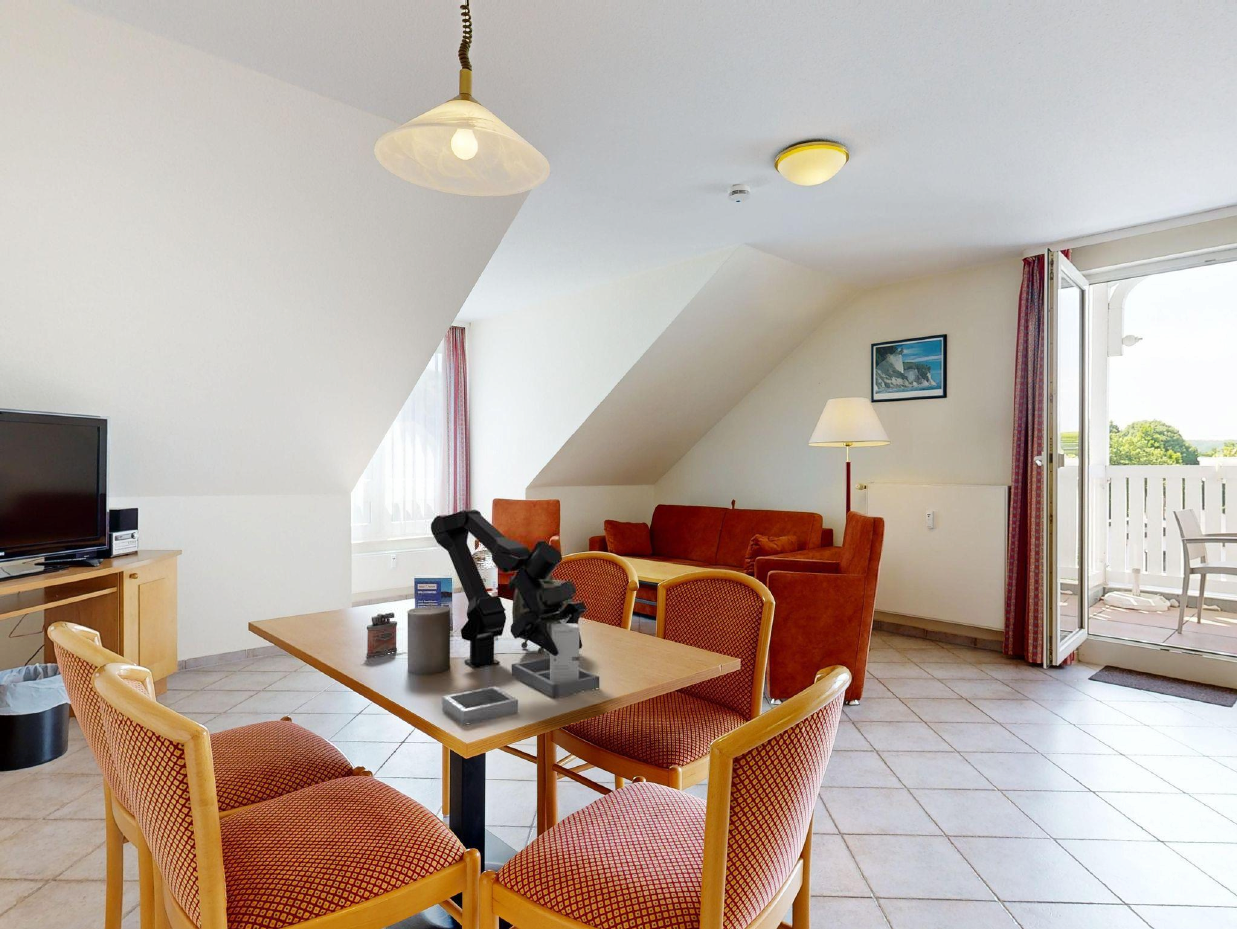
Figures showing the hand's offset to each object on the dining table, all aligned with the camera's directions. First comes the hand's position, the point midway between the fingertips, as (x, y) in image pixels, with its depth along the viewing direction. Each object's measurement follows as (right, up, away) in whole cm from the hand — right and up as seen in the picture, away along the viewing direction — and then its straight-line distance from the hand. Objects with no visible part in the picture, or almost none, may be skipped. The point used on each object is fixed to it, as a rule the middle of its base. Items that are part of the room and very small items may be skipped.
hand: (569, 651), depth 144 cm
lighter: (-49, -8, +26) cm, 56 cm away
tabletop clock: (-9, -8, +29) cm, 31 cm away
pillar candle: (-34, -8, +14) cm, 37 cm away
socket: (-16, -7, -14) cm, 23 cm away
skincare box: (-1, -7, +1) cm, 7 cm away
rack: (-4, -8, +4) cm, 10 cm away
